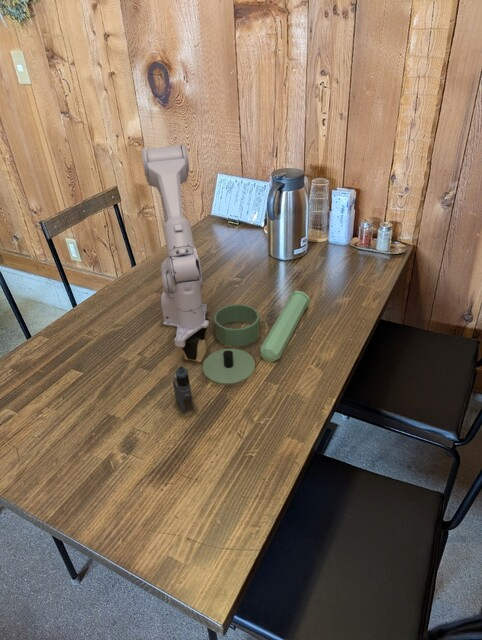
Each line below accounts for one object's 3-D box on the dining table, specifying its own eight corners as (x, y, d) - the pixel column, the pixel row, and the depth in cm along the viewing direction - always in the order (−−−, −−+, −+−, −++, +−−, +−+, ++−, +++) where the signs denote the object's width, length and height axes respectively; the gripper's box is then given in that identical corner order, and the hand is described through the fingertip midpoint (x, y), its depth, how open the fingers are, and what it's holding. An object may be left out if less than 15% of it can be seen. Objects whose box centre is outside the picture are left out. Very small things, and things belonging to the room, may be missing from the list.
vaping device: (184, 418, 91) (177, 374, 84) (175, 402, 95) (167, 358, 88) (196, 413, 92) (189, 369, 85) (186, 397, 95) (179, 354, 89)
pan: (209, 344, 110) (207, 326, 107) (223, 319, 119) (222, 301, 116) (252, 351, 107) (252, 332, 104) (264, 324, 116) (264, 307, 113)
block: (185, 361, 106) (183, 347, 103) (191, 350, 109) (189, 337, 106) (200, 363, 104) (199, 350, 102) (206, 353, 108) (205, 340, 105)
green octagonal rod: (274, 345, 99) (305, 288, 117) (251, 348, 102) (286, 292, 121) (283, 366, 101) (313, 307, 120) (261, 368, 105) (293, 310, 123)
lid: (195, 381, 100) (193, 366, 97) (213, 348, 109) (212, 334, 106) (246, 390, 96) (246, 375, 94) (261, 356, 106) (260, 341, 103)
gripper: (193, 325, 91) (200, 375, 99) (217, 289, 103) (221, 336, 110) (162, 321, 93) (171, 370, 101) (188, 286, 104) (194, 332, 112)
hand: (195, 352), depth 106 cm, fingers closed on block, 4 cm apart
